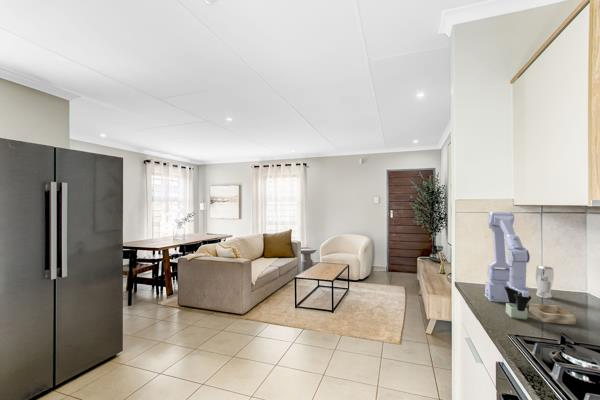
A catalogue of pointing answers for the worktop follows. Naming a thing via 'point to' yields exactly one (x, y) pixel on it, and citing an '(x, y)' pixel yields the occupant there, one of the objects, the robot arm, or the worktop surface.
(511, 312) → the small crate
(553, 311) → the wooden tray
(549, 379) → the worktop surface
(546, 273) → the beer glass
